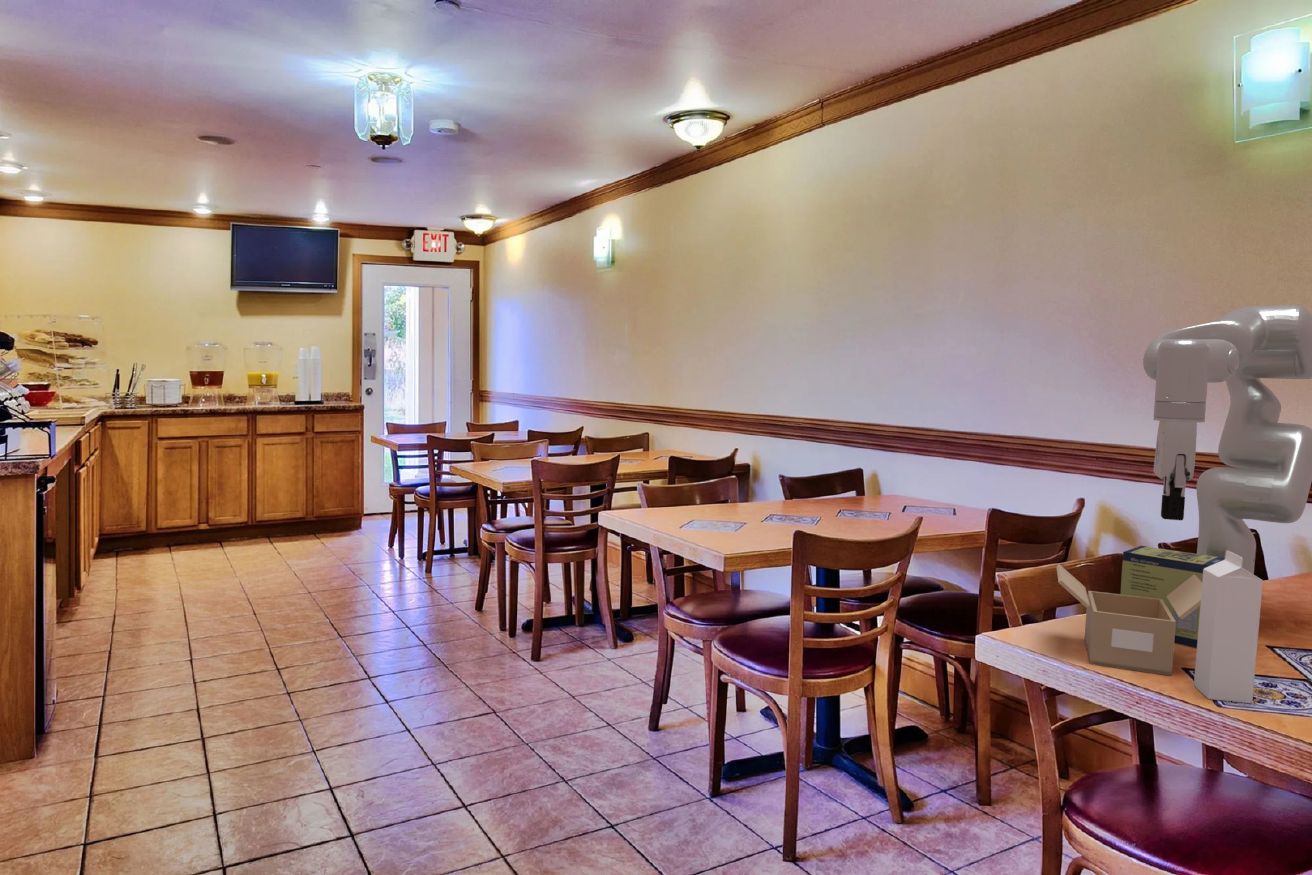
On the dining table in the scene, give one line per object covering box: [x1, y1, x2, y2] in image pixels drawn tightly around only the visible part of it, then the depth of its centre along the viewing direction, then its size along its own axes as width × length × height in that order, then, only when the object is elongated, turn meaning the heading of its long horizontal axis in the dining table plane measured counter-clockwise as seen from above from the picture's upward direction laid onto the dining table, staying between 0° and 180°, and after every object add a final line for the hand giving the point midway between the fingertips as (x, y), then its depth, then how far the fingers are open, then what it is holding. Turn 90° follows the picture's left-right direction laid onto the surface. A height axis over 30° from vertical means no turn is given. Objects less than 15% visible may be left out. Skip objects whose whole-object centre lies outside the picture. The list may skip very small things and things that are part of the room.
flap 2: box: [1166, 575, 1202, 619], centre depth 147 cm, size 15×1×6 cm
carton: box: [1084, 590, 1176, 677], centre depth 151 cm, size 16×12×9 cm
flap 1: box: [1055, 563, 1090, 609], centre depth 154 cm, size 15×1×6 cm
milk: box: [1193, 550, 1264, 704], centre depth 133 cm, size 6×6×22 cm
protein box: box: [1119, 545, 1225, 649], centre depth 165 cm, size 10×16×16 cm
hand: (1171, 518), depth 150 cm, fingers closed
